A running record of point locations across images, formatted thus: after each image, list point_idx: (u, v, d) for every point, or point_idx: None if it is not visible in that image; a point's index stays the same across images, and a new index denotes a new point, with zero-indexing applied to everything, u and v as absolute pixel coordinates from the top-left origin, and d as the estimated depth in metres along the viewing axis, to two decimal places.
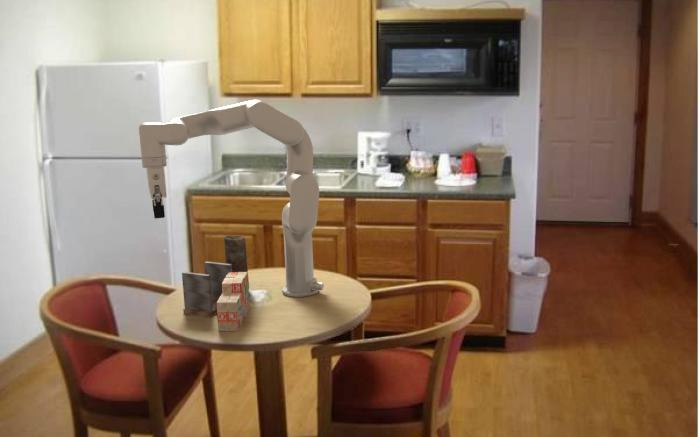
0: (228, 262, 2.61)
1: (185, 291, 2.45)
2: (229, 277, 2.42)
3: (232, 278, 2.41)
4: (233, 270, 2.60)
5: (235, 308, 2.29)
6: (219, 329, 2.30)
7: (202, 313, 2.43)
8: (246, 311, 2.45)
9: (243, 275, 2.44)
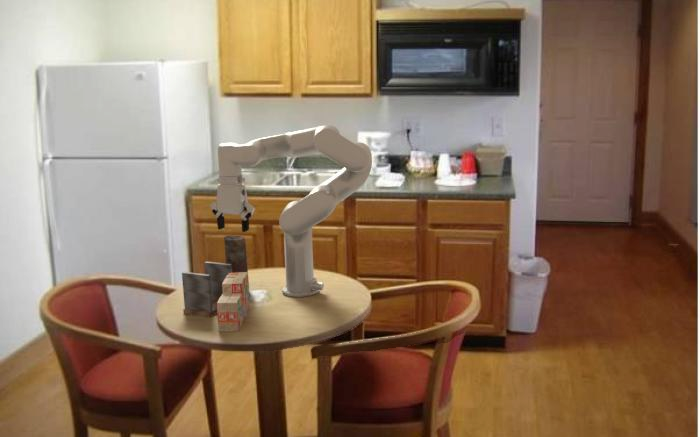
0: (228, 262, 2.61)
1: (185, 291, 2.45)
2: (229, 277, 2.42)
3: (232, 278, 2.41)
4: (233, 270, 2.60)
5: (235, 308, 2.28)
6: (219, 329, 2.30)
7: (202, 313, 2.43)
8: (246, 311, 2.45)
9: (243, 275, 2.44)
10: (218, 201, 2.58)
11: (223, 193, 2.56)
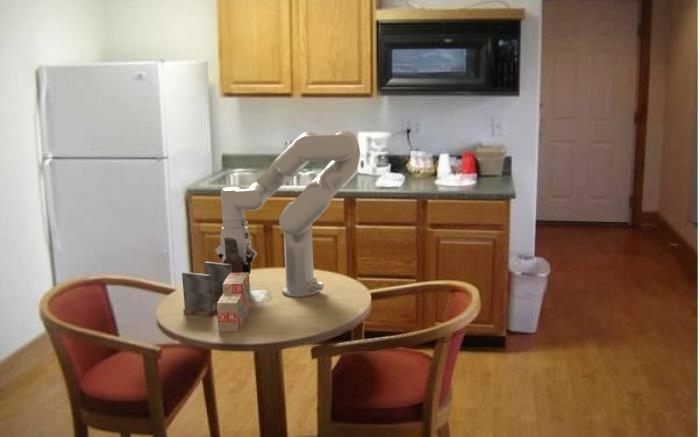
0: (228, 262, 2.61)
1: (185, 291, 2.45)
2: (230, 277, 2.42)
3: (233, 278, 2.41)
4: (233, 270, 2.60)
5: (235, 309, 2.28)
6: (219, 330, 2.30)
7: (202, 313, 2.43)
8: (247, 312, 2.44)
9: (244, 275, 2.44)
10: (222, 244, 2.61)
11: (227, 237, 2.59)
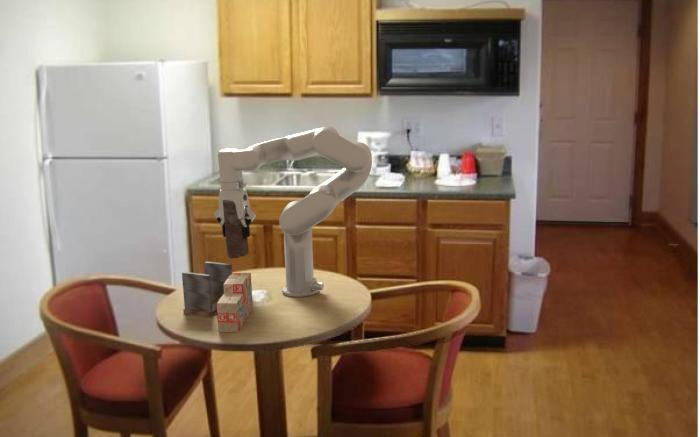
0: (227, 225, 2.58)
1: (185, 291, 2.45)
2: (231, 278, 2.42)
3: (234, 279, 2.40)
4: (232, 233, 2.57)
5: (235, 309, 2.28)
6: (219, 330, 2.30)
7: (202, 313, 2.43)
8: (248, 312, 2.44)
9: (246, 276, 2.43)
10: (220, 207, 2.58)
11: (225, 199, 2.56)
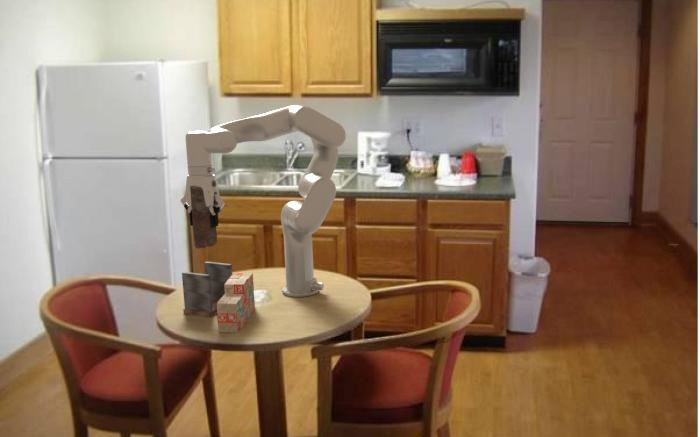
0: (194, 213, 2.41)
1: (185, 291, 2.45)
2: (233, 278, 2.41)
3: (236, 279, 2.40)
4: (199, 221, 2.41)
5: (235, 309, 2.27)
6: (219, 330, 2.29)
7: (202, 313, 2.43)
8: (250, 312, 2.43)
9: (247, 276, 2.43)
10: (188, 193, 2.42)
11: (193, 185, 2.40)
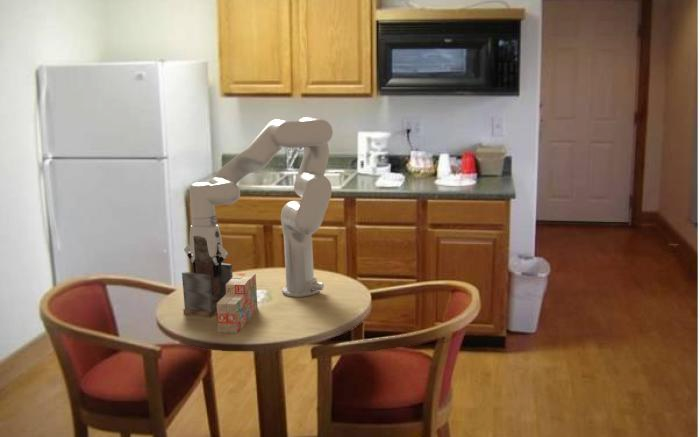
0: (197, 263, 2.44)
1: (185, 291, 2.45)
2: (235, 278, 2.41)
3: (238, 279, 2.40)
4: (203, 271, 2.44)
5: (234, 310, 2.27)
6: (219, 330, 2.29)
7: (202, 313, 2.43)
8: (252, 313, 2.43)
9: (250, 277, 2.42)
10: (191, 243, 2.45)
11: (196, 236, 2.43)
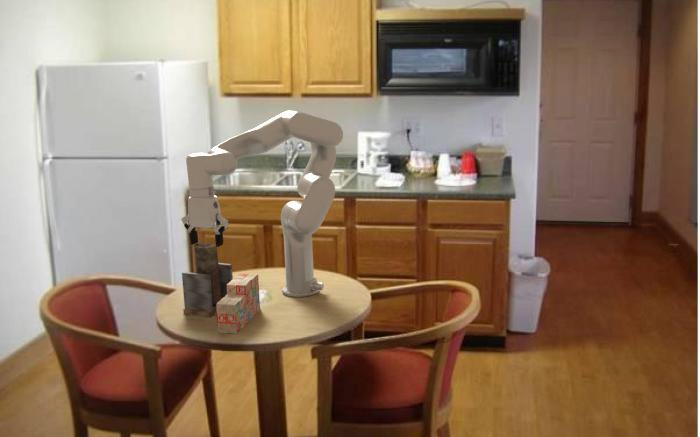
0: (198, 272, 2.45)
1: (185, 291, 2.45)
2: (237, 278, 2.41)
3: (239, 280, 2.39)
4: None
5: (234, 310, 2.26)
6: (219, 330, 2.29)
7: (202, 313, 2.43)
8: (253, 314, 2.42)
9: (252, 277, 2.42)
10: (190, 215, 2.43)
11: (195, 207, 2.41)
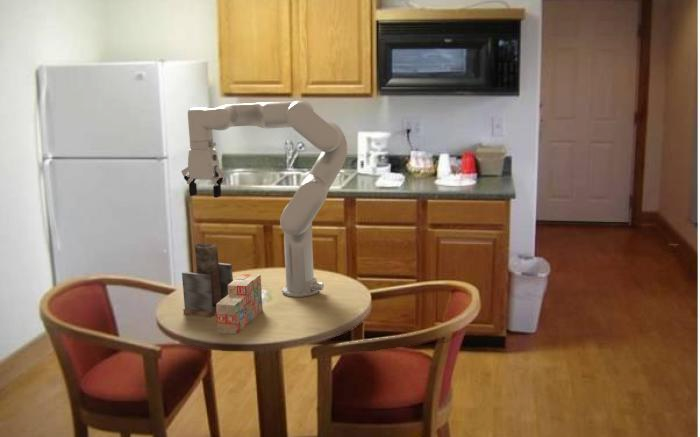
0: (198, 272, 2.45)
1: (185, 291, 2.45)
2: (239, 279, 2.40)
3: (241, 280, 2.39)
4: None
5: (233, 311, 2.26)
6: (218, 331, 2.29)
7: (202, 313, 2.43)
8: (255, 314, 2.42)
9: (254, 278, 2.41)
10: (190, 167, 2.55)
11: (194, 159, 2.53)
